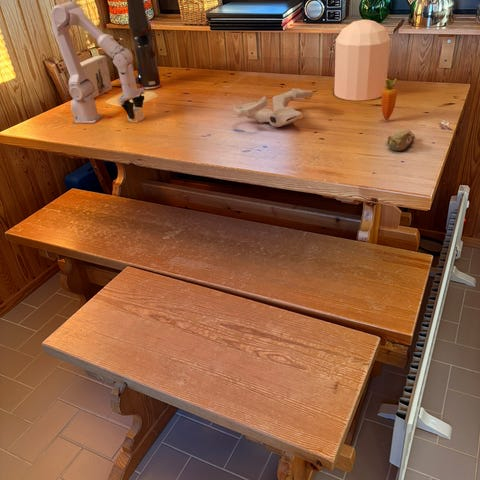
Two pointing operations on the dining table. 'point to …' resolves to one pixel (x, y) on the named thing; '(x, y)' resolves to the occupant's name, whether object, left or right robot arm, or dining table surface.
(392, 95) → the carrot
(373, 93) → the container
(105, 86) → the skincare box
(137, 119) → the pale beige block
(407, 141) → the rock
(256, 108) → the animal horns
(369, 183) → the dining table surface
